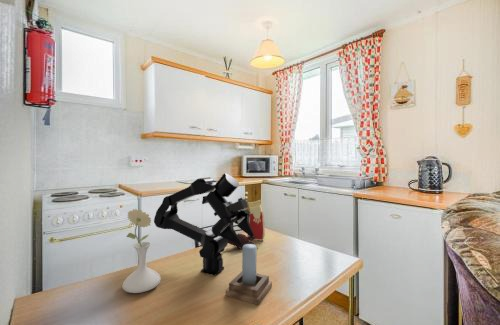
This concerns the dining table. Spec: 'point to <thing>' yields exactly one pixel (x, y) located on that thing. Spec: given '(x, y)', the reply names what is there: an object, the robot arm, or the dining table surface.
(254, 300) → the socket base
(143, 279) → the flower in vase
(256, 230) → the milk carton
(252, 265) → the blue-gray capsule
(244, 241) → the dark red lobed figurine
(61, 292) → the dining table surface
